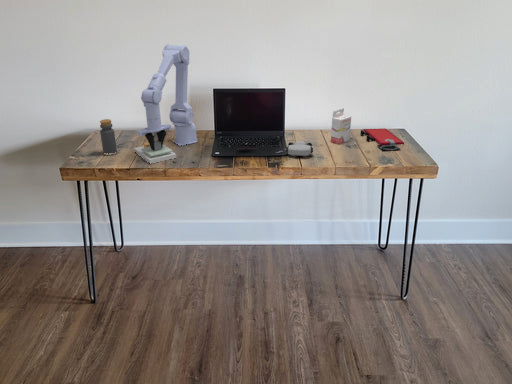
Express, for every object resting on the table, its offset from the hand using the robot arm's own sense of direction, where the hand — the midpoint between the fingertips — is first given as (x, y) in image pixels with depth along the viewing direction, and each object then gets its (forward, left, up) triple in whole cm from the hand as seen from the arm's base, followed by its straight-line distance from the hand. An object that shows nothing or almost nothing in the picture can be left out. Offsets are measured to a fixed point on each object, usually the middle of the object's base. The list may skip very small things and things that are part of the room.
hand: (156, 148), depth 209 cm
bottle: (+15, -17, -4) cm, 23 cm away
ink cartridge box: (-78, +31, -4) cm, 84 cm away
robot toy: (-53, +32, -4) cm, 62 cm away
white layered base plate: (0, -3, -4) cm, 5 cm away
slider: (0, -7, -2) cm, 7 cm away
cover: (0, 0, -1) cm, 1 cm away
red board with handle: (-95, +41, -5) cm, 104 cm away
